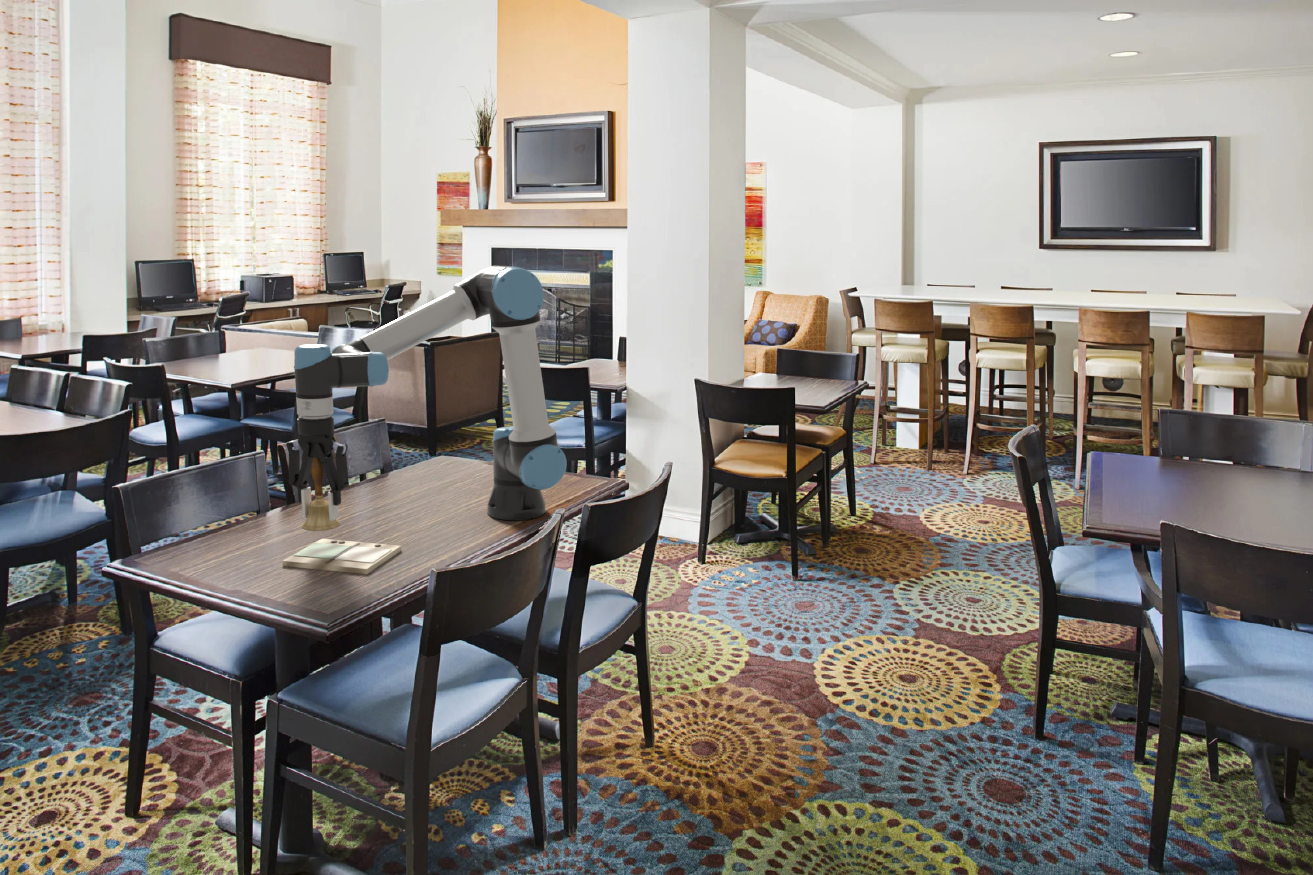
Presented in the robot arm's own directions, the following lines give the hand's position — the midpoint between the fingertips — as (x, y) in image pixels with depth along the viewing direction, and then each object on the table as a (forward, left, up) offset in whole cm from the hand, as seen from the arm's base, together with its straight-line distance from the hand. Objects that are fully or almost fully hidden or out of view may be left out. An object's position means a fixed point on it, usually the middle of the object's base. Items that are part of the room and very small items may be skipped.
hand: (320, 517), depth 214 cm
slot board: (-5, 0, -9) cm, 10 cm away
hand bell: (0, 0, -2) cm, 2 cm away
